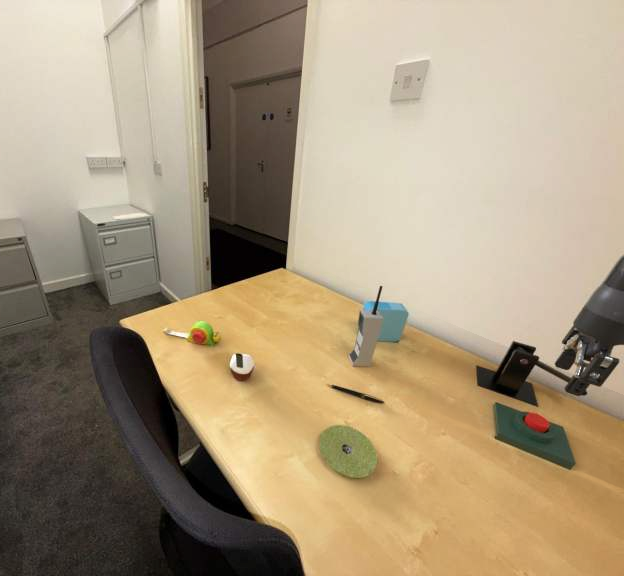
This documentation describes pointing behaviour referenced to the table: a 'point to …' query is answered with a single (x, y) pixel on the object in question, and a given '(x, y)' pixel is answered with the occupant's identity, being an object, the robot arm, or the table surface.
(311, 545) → the table surface
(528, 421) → the button
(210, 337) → the toy measuring tape
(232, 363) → the cupcake
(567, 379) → the switch lever
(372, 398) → the fountain pen
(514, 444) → the control block
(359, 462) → the green grinding wheel
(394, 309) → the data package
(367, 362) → the vintage mobile phone
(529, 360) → the switch bracket
